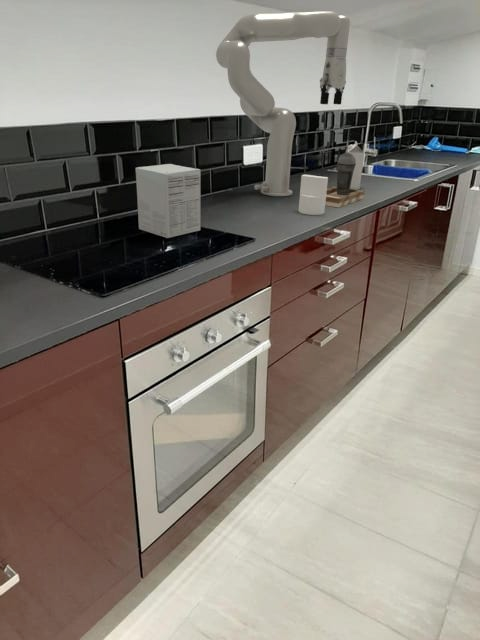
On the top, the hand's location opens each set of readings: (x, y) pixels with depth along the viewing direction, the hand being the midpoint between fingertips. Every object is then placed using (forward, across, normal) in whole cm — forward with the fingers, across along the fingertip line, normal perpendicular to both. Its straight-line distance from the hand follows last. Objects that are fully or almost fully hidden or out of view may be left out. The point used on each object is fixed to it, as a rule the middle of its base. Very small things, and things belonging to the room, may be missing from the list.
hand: (330, 104), depth 192 cm
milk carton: (+34, +18, -4) cm, 38 cm away
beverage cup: (+32, -6, -13) cm, 35 cm away
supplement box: (+34, -87, -3) cm, 94 cm away
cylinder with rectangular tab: (+34, -35, -18) cm, 52 cm away
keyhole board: (+34, -11, -14) cm, 38 cm away
